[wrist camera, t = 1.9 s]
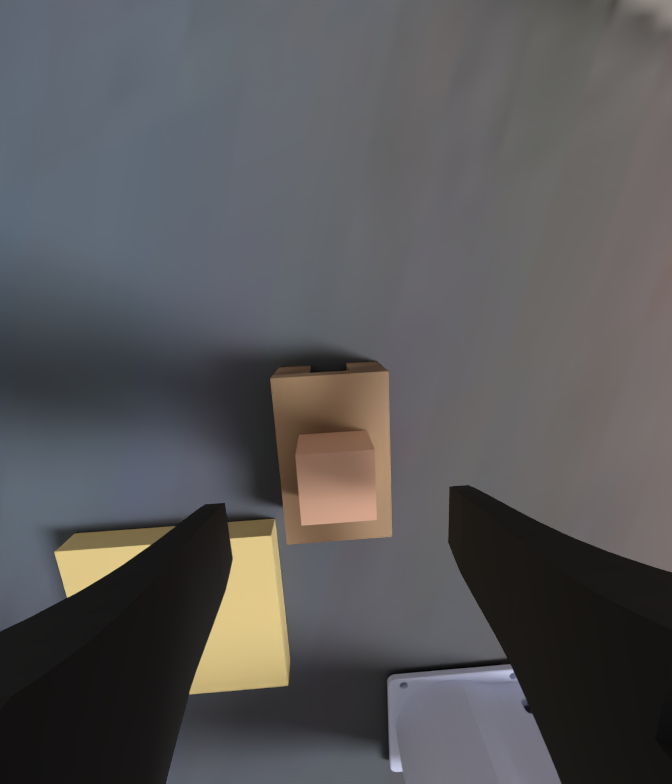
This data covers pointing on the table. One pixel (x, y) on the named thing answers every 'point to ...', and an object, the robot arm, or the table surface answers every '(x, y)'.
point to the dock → (237, 610)
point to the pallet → (327, 415)
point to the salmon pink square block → (336, 477)
